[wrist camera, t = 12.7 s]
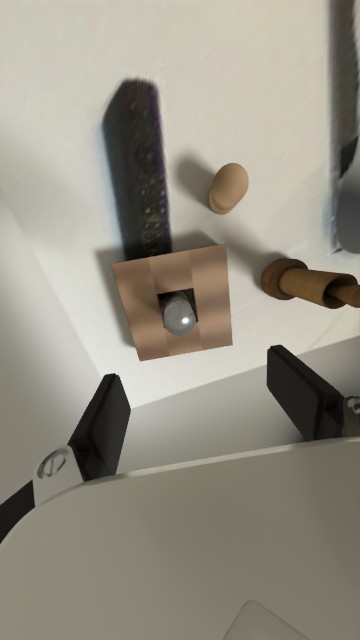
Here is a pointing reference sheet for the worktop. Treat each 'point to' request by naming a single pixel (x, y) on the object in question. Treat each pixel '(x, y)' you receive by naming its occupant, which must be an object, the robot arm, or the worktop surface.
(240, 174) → the short pin
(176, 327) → the long pin
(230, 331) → the hole plate
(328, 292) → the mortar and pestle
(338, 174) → the worktop surface
